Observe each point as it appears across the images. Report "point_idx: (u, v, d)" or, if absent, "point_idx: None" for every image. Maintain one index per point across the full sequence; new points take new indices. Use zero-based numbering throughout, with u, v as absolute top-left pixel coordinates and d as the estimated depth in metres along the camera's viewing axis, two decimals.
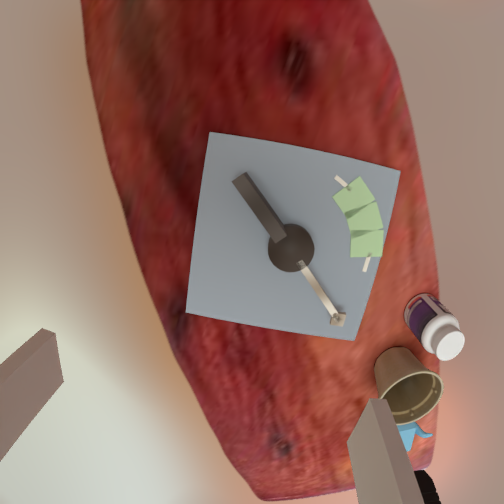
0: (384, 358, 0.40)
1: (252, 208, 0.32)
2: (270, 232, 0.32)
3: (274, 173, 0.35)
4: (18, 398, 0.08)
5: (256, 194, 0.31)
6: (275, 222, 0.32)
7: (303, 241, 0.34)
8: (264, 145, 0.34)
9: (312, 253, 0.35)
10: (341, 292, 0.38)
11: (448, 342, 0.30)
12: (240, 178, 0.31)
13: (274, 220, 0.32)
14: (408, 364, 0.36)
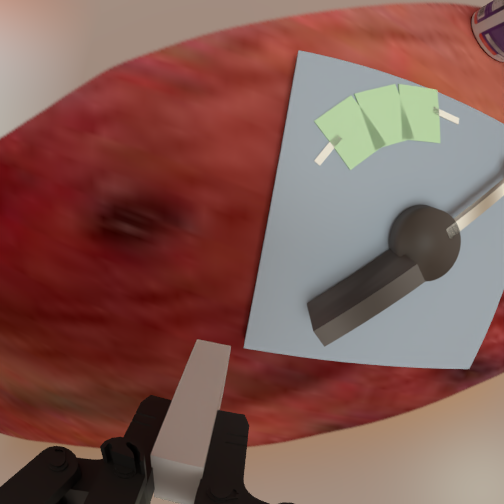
0: None
1: (369, 317, 0.19)
2: (409, 289, 0.18)
3: (310, 261, 0.22)
4: None
5: (348, 312, 0.19)
6: (395, 282, 0.18)
7: (421, 227, 0.19)
8: (266, 276, 0.23)
9: (439, 212, 0.19)
10: (483, 159, 0.19)
11: None
12: (321, 334, 0.19)
13: (392, 284, 0.18)
14: None
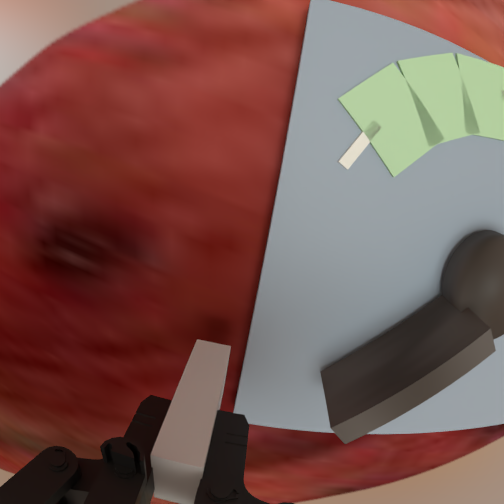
0: None
1: (414, 405, 0.11)
2: (474, 364, 0.10)
3: (328, 315, 0.15)
4: None
5: (386, 402, 0.11)
6: (458, 357, 0.10)
7: (493, 266, 0.11)
8: (262, 334, 0.15)
9: None
10: None
11: None
12: (342, 431, 0.11)
13: (453, 359, 0.10)
14: None
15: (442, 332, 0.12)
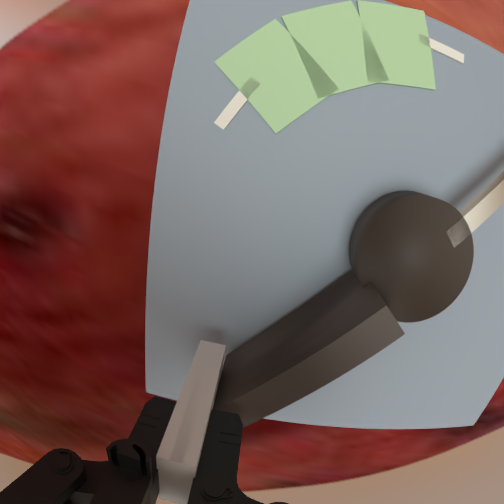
0: None
1: (302, 394, 0.11)
2: (373, 350, 0.10)
3: (219, 283, 0.14)
4: None
5: (262, 387, 0.11)
6: (344, 340, 0.10)
7: (400, 231, 0.11)
8: (157, 301, 0.15)
9: (432, 202, 0.10)
10: None
11: None
12: None
13: (338, 343, 0.10)
14: None
15: (336, 311, 0.11)
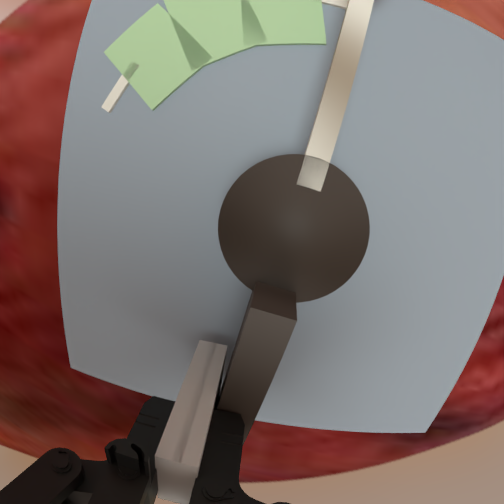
0: None
1: (252, 415, 0.10)
2: (277, 350, 0.10)
3: (113, 258, 0.14)
4: None
5: None
6: (240, 356, 0.10)
7: (246, 219, 0.10)
8: (67, 277, 0.15)
9: (257, 169, 0.10)
10: (429, 71, 0.10)
11: None
12: None
13: (238, 361, 0.10)
14: None
15: (242, 325, 0.11)
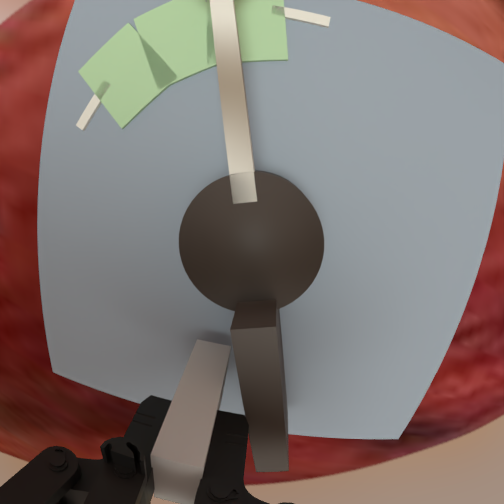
0: None
1: (280, 422, 0.11)
2: (272, 358, 0.10)
3: (88, 269, 0.14)
4: None
5: (253, 438, 0.11)
6: (243, 374, 0.10)
7: (204, 252, 0.11)
8: (47, 286, 0.15)
9: (194, 205, 0.11)
10: (394, 83, 0.11)
11: None
12: (267, 468, 0.12)
13: (243, 379, 0.10)
14: None
15: None
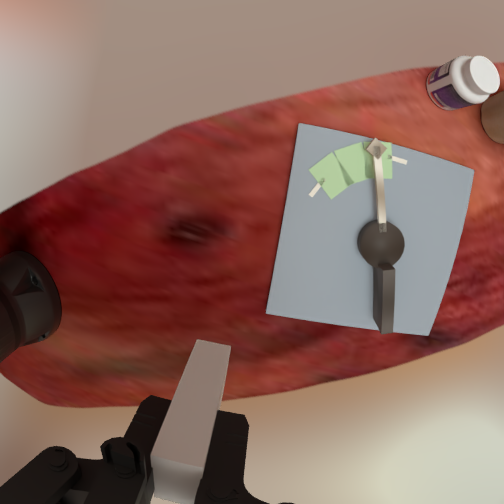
0: (492, 134, 0.29)
1: (393, 306, 0.32)
2: (393, 280, 0.31)
3: (307, 256, 0.36)
4: None
5: (383, 314, 0.32)
6: (384, 286, 0.32)
7: (369, 248, 0.33)
8: (280, 265, 0.37)
9: (368, 232, 0.32)
10: (426, 186, 0.32)
11: (482, 77, 0.21)
12: (385, 331, 0.33)
13: (384, 288, 0.32)
14: (501, 115, 0.25)
15: (378, 280, 0.33)
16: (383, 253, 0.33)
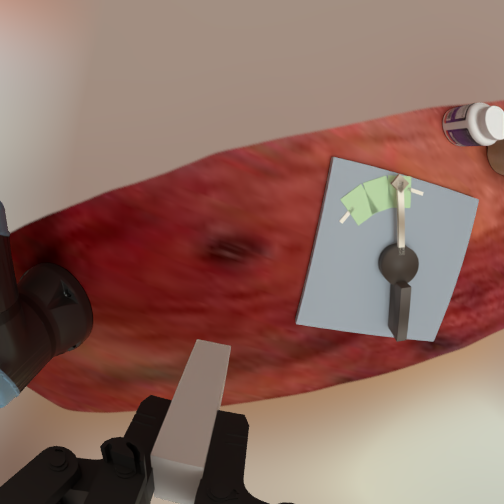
0: (496, 167, 0.35)
1: (407, 317, 0.37)
2: (409, 296, 0.36)
3: (335, 274, 0.40)
4: None
5: (399, 325, 0.37)
6: (401, 301, 0.36)
7: (389, 268, 0.37)
8: (311, 282, 0.41)
9: (389, 255, 0.37)
10: (438, 214, 0.37)
11: (494, 126, 0.26)
12: (400, 338, 0.38)
13: (401, 303, 0.36)
14: None
15: (396, 295, 0.38)
16: (401, 273, 0.37)
